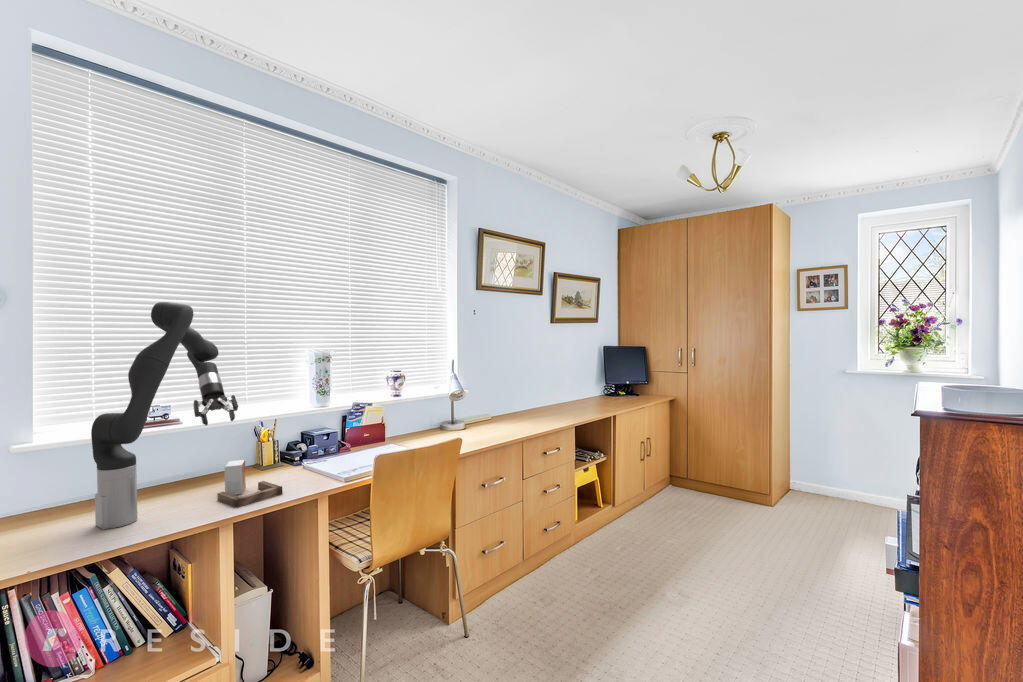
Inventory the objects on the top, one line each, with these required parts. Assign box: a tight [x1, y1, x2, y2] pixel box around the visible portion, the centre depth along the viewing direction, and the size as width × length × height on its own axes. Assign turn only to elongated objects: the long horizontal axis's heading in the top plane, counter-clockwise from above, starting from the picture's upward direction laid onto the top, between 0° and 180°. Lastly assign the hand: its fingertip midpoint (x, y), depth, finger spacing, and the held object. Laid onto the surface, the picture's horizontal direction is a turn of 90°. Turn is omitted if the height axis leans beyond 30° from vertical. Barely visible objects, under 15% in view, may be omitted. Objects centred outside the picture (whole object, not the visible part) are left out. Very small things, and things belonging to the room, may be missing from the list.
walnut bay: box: [217, 480, 283, 508], centre depth 168 cm, size 16×12×2 cm
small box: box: [224, 459, 246, 496], centre depth 173 cm, size 8×6×10 cm
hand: (219, 422), depth 182 cm, fingers open, 8 cm apart
